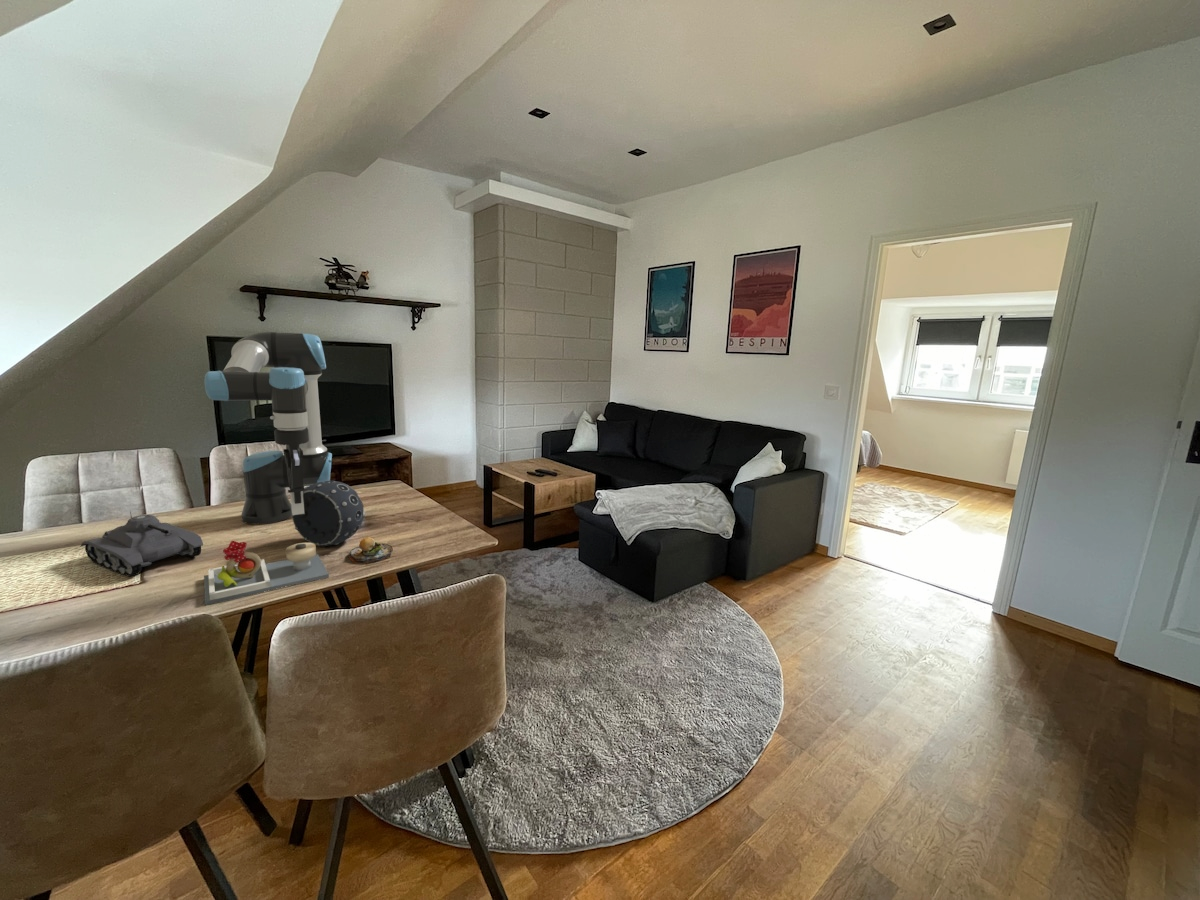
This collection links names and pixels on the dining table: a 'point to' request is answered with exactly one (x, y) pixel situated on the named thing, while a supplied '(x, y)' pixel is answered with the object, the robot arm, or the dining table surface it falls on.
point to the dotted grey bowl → (329, 513)
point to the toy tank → (141, 544)
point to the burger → (370, 551)
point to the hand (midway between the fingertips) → (298, 513)
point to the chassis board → (263, 579)
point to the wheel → (300, 552)
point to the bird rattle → (246, 564)
